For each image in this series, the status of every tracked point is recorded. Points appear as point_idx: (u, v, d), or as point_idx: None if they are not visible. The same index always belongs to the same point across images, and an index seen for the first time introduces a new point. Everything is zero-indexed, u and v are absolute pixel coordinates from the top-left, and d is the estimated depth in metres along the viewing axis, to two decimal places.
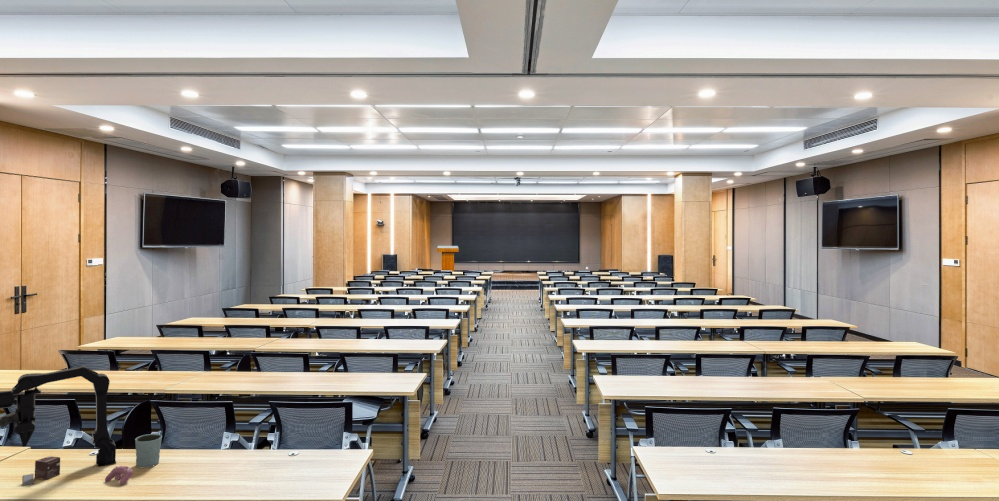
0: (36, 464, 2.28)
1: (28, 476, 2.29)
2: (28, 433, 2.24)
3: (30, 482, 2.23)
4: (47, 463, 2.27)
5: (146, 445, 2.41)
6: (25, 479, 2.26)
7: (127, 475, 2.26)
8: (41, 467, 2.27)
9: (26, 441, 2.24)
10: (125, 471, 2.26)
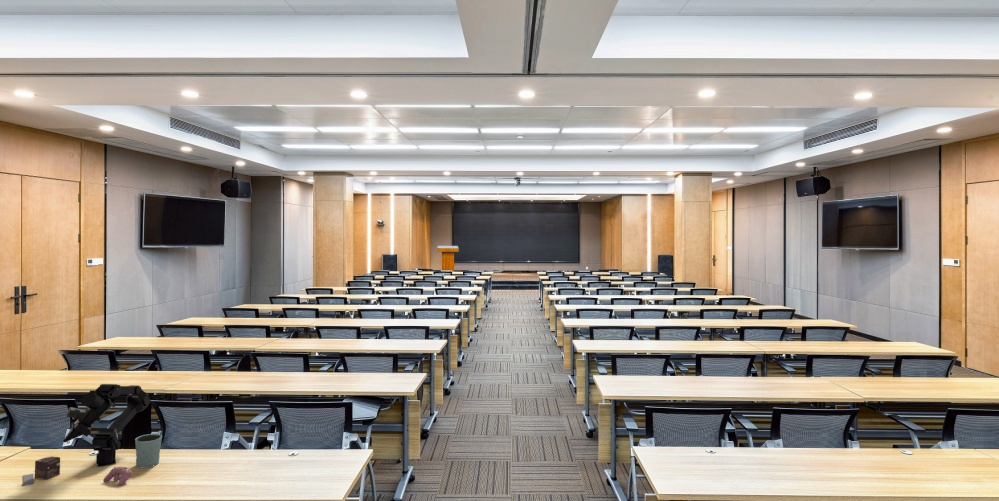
0: (36, 464, 2.28)
1: (28, 476, 2.29)
2: (77, 433, 2.35)
3: (30, 482, 2.23)
4: (47, 463, 2.27)
5: (146, 445, 2.41)
6: (25, 479, 2.26)
7: (126, 476, 2.25)
8: (41, 467, 2.27)
9: (69, 439, 2.34)
10: (124, 472, 2.26)
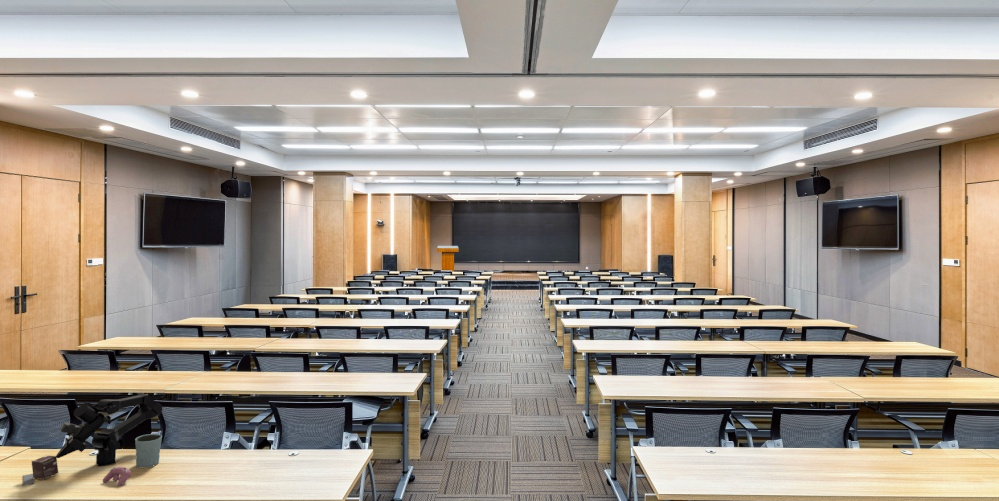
0: (33, 464, 2.27)
1: (28, 476, 2.29)
2: (71, 449, 2.33)
3: (30, 482, 2.23)
4: (42, 463, 2.26)
5: (146, 445, 2.41)
6: (25, 479, 2.26)
7: (125, 476, 2.25)
8: (37, 467, 2.26)
9: (63, 454, 2.32)
10: (123, 472, 2.25)
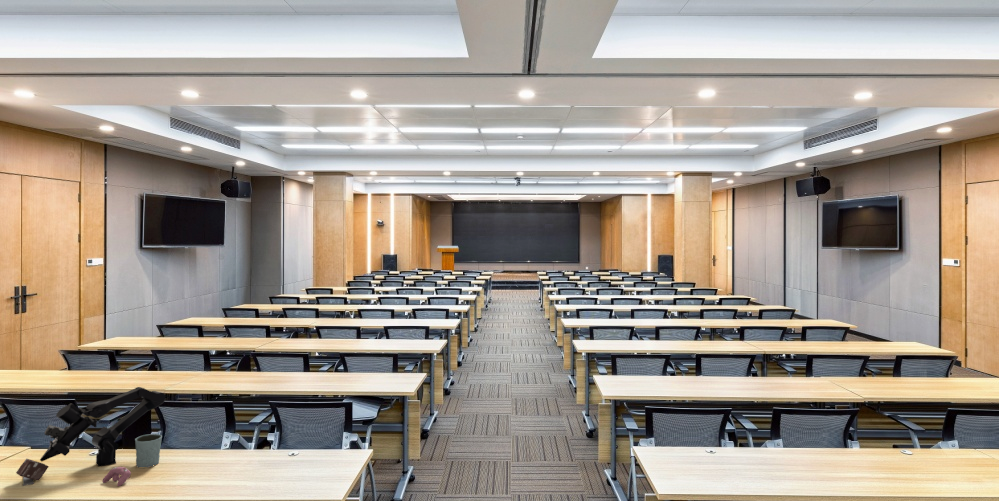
0: None
1: None
2: (55, 452, 2.30)
3: (30, 482, 2.23)
4: (21, 475, 2.20)
5: (146, 445, 2.41)
6: (25, 479, 2.26)
7: (125, 476, 2.25)
8: None
9: (47, 458, 2.29)
10: (123, 472, 2.25)
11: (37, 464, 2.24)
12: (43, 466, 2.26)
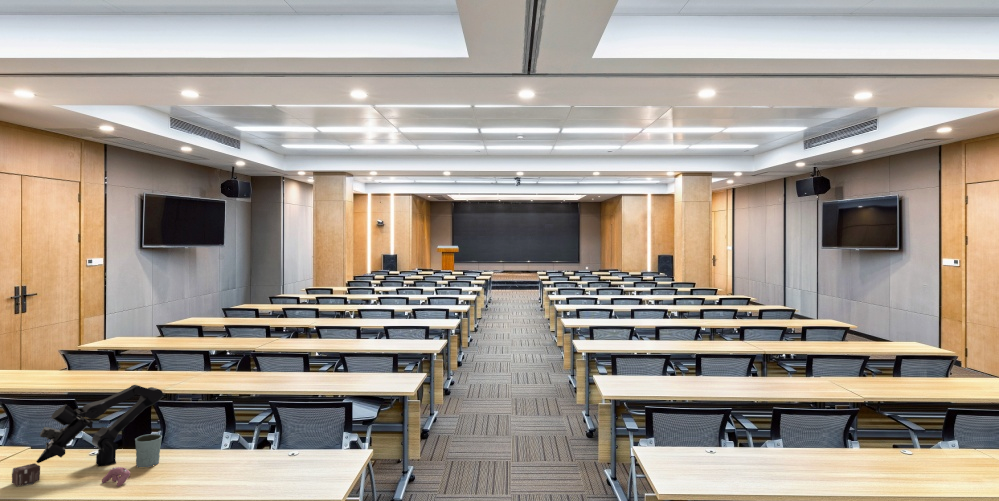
0: None
1: None
2: (52, 454, 2.30)
3: None
4: (19, 485, 2.19)
5: (146, 445, 2.41)
6: None
7: (124, 476, 2.24)
8: None
9: (43, 459, 2.28)
10: (122, 472, 2.25)
11: (27, 470, 2.21)
12: (34, 468, 2.23)
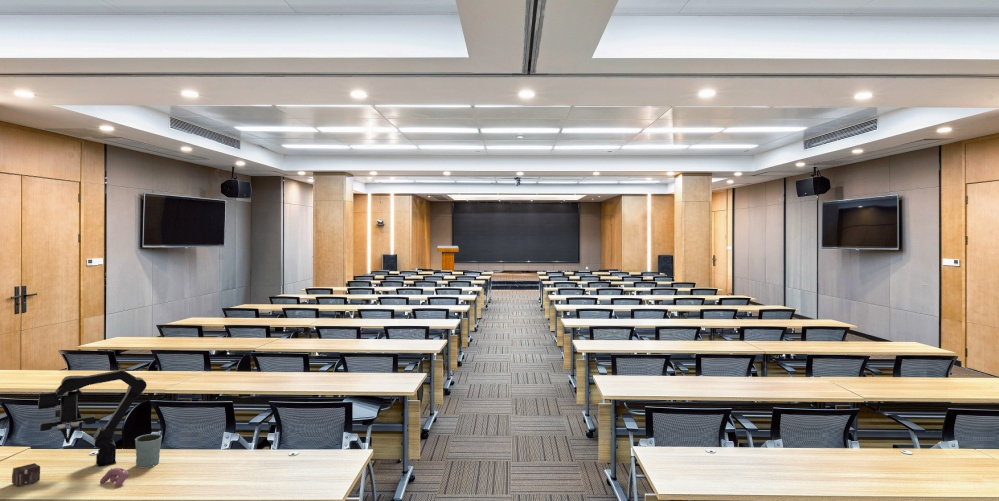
0: None
1: None
2: None
3: None
4: (19, 485, 2.19)
5: (146, 445, 2.41)
6: None
7: (122, 477, 2.24)
8: None
9: None
10: (120, 473, 2.24)
11: (27, 470, 2.21)
12: (35, 468, 2.23)
